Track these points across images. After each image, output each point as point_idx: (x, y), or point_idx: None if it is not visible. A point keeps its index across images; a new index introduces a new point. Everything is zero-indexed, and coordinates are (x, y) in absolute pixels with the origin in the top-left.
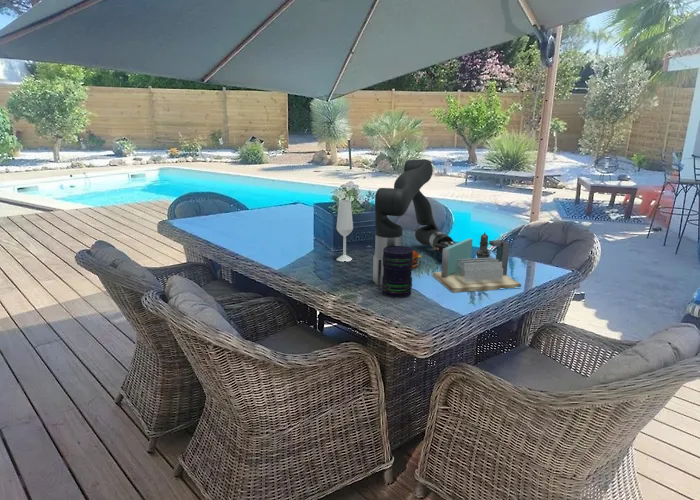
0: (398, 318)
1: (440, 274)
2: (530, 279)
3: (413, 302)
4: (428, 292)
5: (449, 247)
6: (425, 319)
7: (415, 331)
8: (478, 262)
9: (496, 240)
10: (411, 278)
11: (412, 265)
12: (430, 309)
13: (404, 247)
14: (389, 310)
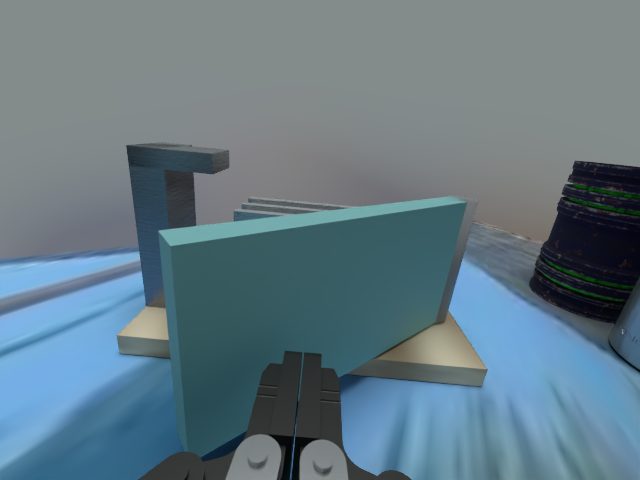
0: (519, 240)
1: (447, 339)
2: (95, 276)
3: (509, 262)
4: (481, 284)
5: (442, 200)
6: (473, 232)
7: (483, 223)
8: (333, 206)
9: (170, 149)
10: (545, 244)
11: (558, 208)
12: (467, 244)
13: (630, 169)
14: None
